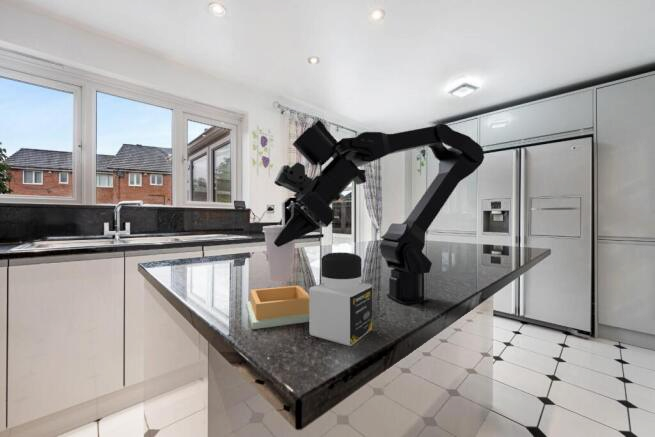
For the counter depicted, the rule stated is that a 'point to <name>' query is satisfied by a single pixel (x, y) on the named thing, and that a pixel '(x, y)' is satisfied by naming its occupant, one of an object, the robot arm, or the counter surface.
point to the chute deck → (278, 306)
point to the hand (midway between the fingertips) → (273, 243)
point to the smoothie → (279, 252)
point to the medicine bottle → (340, 301)
